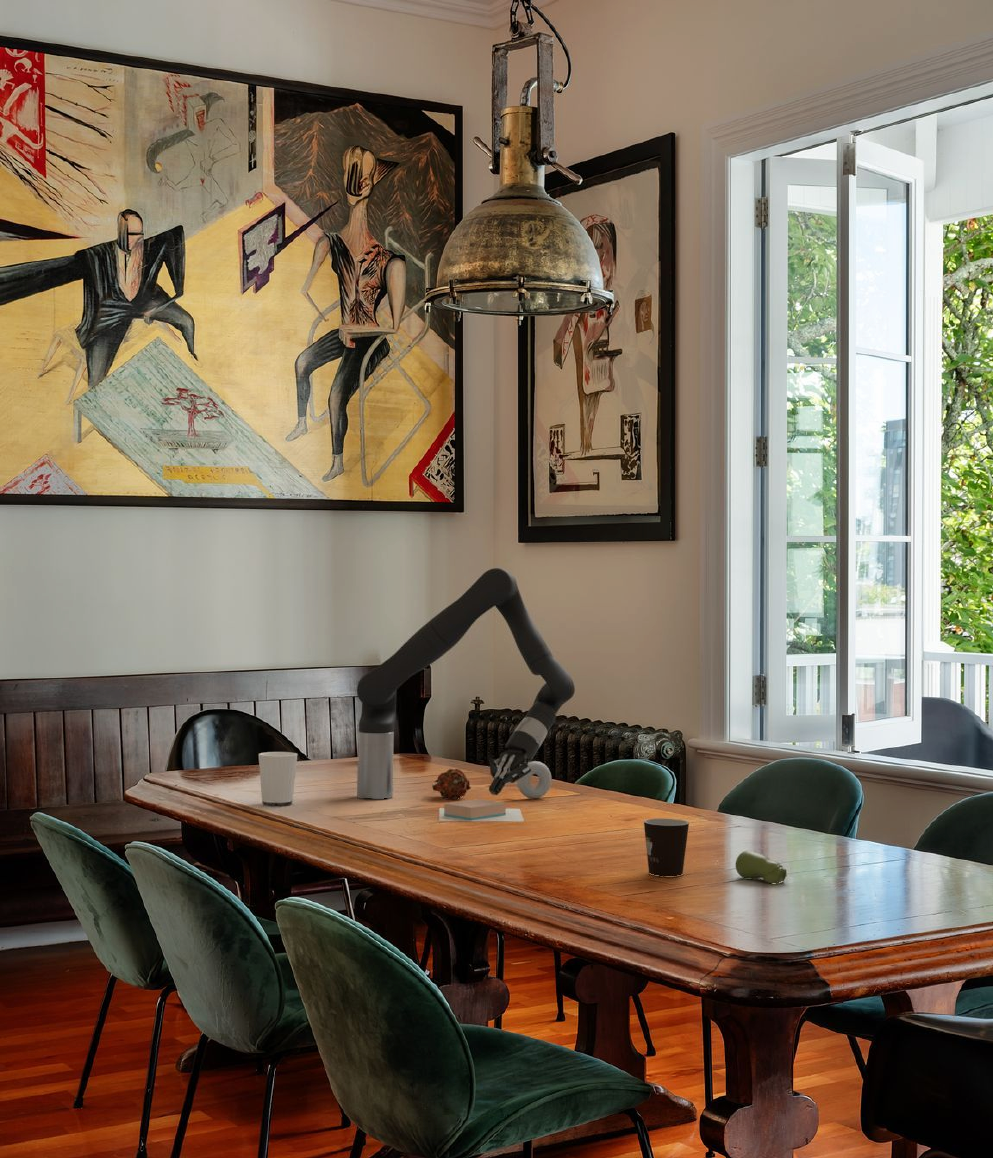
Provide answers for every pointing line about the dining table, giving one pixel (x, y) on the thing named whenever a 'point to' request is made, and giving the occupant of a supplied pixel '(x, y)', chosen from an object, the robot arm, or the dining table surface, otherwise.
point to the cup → (277, 777)
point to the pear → (759, 867)
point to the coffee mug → (666, 845)
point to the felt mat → (511, 815)
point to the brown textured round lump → (452, 784)
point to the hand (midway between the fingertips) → (492, 792)
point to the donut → (541, 786)
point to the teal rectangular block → (474, 809)
